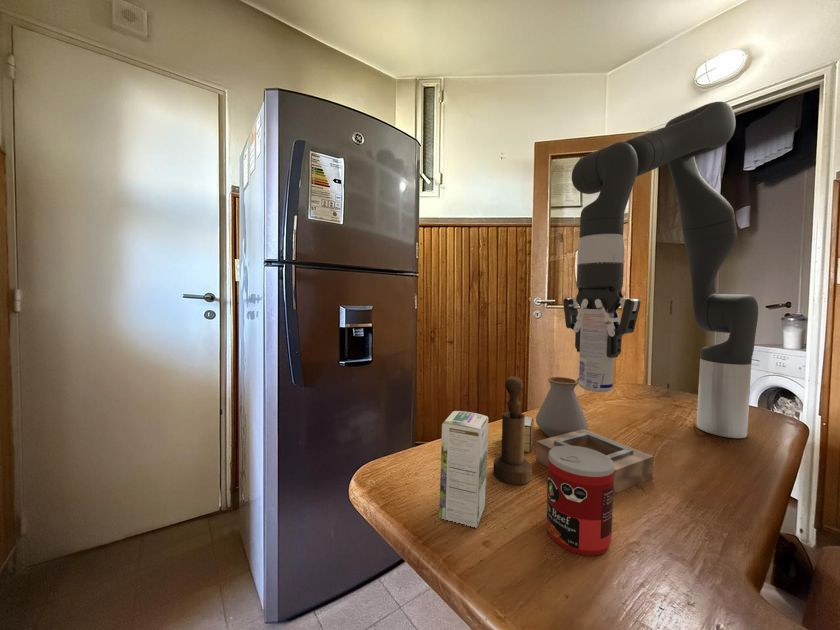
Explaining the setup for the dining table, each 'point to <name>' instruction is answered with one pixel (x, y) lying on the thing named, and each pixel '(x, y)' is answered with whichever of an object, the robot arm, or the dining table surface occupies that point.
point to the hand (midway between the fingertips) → (596, 354)
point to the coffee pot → (561, 409)
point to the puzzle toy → (528, 434)
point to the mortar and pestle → (513, 440)
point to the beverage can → (595, 352)
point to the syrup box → (463, 467)
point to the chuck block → (627, 460)
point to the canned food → (580, 499)
